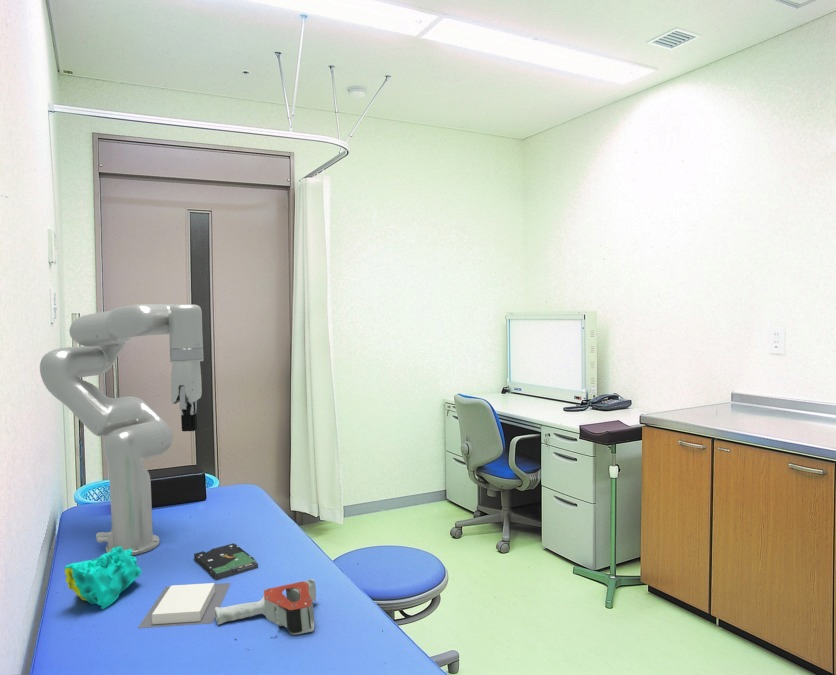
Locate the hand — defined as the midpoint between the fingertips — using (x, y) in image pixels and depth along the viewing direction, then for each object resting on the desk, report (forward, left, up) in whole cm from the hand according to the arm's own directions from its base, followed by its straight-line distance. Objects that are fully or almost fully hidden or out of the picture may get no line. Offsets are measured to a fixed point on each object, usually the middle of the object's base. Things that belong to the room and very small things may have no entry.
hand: (189, 430), depth 146 cm
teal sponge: (-13, -18, -32) cm, 40 cm away
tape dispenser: (+24, -31, -32) cm, 51 cm away
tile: (+5, -20, -30) cm, 37 cm away
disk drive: (+9, -5, -33) cm, 34 cm away
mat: (+5, -24, -32) cm, 40 cm away
